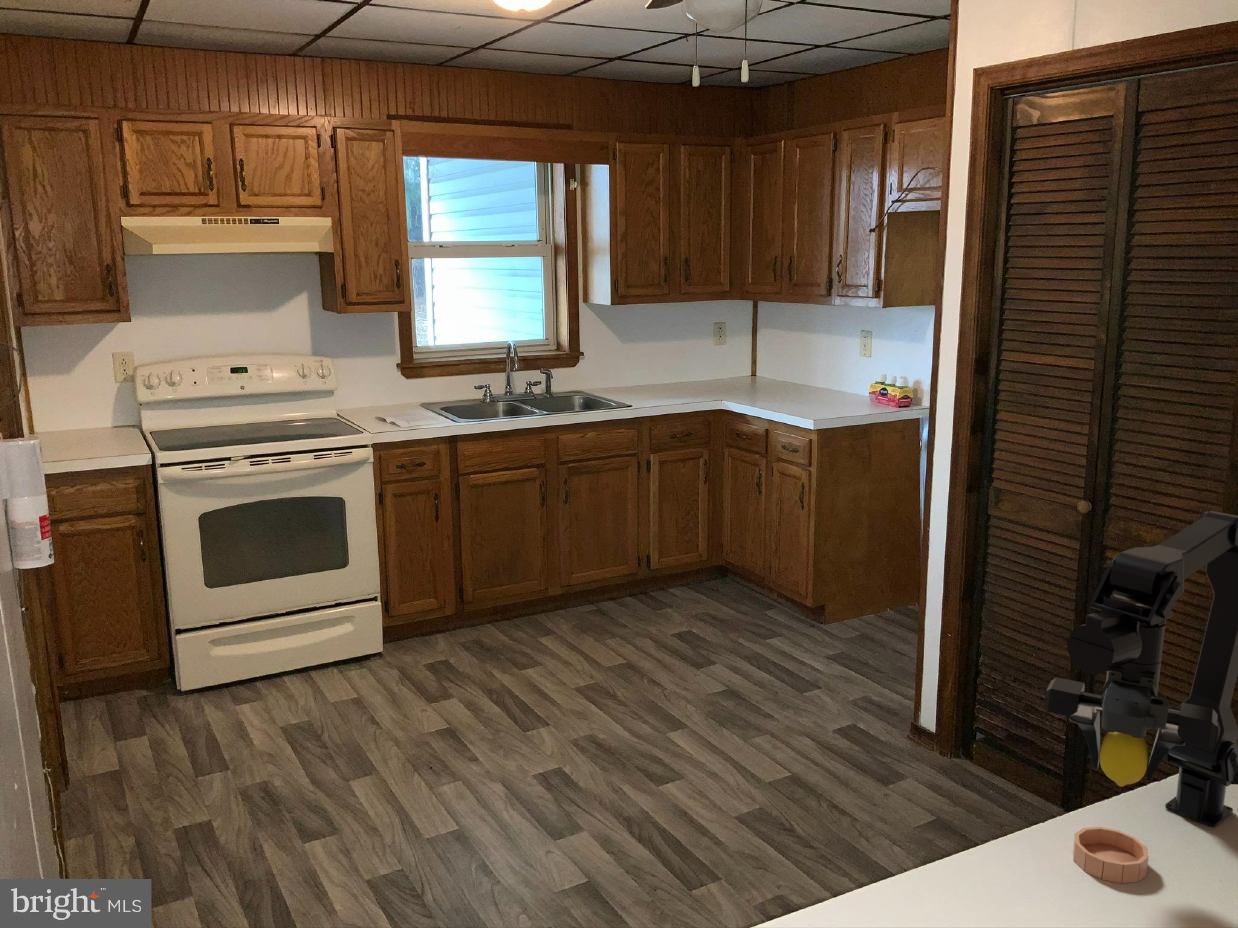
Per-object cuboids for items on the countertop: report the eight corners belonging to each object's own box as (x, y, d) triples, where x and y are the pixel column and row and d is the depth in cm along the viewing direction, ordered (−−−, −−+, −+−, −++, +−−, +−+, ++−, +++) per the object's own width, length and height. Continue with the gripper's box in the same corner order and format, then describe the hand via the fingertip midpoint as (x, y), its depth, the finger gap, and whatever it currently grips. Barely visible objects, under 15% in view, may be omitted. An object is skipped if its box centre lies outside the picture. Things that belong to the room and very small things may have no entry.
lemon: (1151, 799, 122) (1158, 738, 121) (1102, 794, 124) (1109, 733, 122) (1137, 777, 128) (1144, 719, 126) (1091, 773, 129) (1097, 714, 127)
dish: (1092, 837, 133) (1094, 819, 132) (1157, 865, 127) (1159, 847, 126) (1060, 859, 128) (1062, 842, 127) (1126, 890, 122) (1128, 872, 121)
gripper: (1042, 660, 121) (1030, 780, 123) (1222, 695, 111) (1205, 824, 114) (1056, 633, 130) (1045, 745, 133) (1224, 663, 120) (1208, 783, 123)
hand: (1121, 774), depth 125 cm, fingers closed on lemon, 5 cm apart
